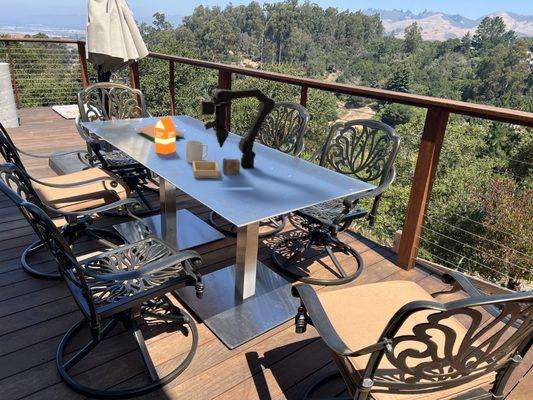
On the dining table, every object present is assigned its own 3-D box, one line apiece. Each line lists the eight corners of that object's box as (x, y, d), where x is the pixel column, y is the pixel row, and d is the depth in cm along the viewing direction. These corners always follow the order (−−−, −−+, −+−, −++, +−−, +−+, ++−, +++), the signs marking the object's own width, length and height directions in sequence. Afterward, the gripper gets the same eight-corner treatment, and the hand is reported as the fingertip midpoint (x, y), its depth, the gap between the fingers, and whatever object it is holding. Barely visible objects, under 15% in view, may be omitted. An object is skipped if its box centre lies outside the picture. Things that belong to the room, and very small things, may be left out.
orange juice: (155, 151, 224) (154, 117, 217) (165, 148, 232) (164, 115, 224) (165, 154, 221) (164, 119, 214) (175, 151, 229) (175, 117, 221)
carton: (215, 168, 206) (216, 160, 204) (219, 181, 189) (220, 172, 187) (192, 168, 203) (192, 160, 201) (194, 181, 186) (194, 172, 184)
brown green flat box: (155, 143, 242) (155, 130, 239) (132, 132, 264) (132, 120, 261) (187, 139, 257) (187, 127, 253) (163, 129, 278) (163, 117, 275)
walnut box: (237, 172, 202) (238, 158, 199) (239, 175, 197) (240, 161, 195) (222, 172, 200) (222, 158, 197) (223, 175, 195) (224, 161, 193)
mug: (189, 165, 206) (190, 145, 202) (183, 161, 213) (183, 141, 209) (210, 163, 213) (210, 143, 208) (203, 159, 219) (204, 139, 215)
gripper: (203, 111, 203) (202, 140, 209) (206, 118, 186) (205, 149, 192) (224, 111, 206) (223, 140, 212) (229, 119, 189) (228, 150, 195)
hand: (219, 145), depth 203 cm, fingers open, 9 cm apart
